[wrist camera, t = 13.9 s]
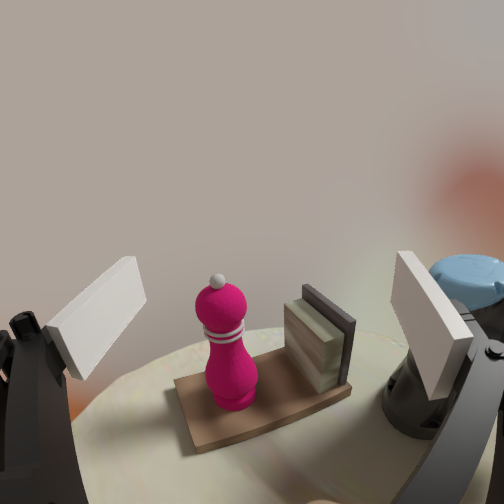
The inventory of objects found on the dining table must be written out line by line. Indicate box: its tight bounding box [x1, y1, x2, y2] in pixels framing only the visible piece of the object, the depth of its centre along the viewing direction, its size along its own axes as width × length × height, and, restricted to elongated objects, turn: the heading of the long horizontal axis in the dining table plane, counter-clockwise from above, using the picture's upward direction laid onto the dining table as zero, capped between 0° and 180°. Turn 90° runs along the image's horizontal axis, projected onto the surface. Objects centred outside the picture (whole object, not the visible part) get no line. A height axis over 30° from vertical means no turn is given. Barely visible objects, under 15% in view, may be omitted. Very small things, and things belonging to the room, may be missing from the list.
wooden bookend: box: [174, 284, 356, 454], centre depth 40 cm, size 24×14×14 cm, turn 113°
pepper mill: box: [195, 274, 258, 411], centre depth 37 cm, size 7×7×20 cm
